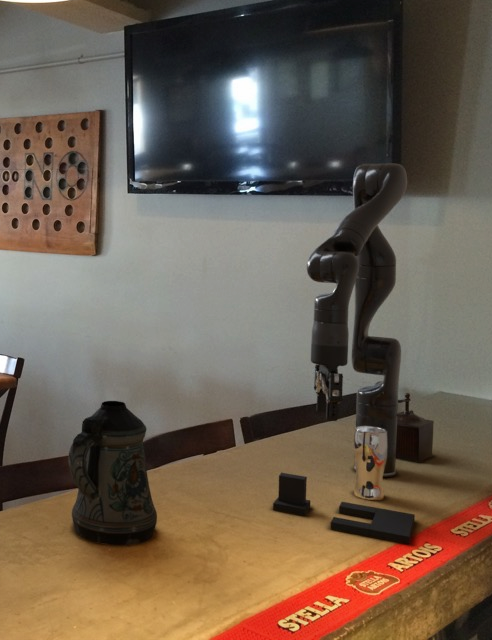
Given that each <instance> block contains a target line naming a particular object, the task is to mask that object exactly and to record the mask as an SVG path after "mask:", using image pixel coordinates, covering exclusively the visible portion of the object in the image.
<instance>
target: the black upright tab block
mask: <svg viewBox="0 0 492 640" xmlns="http://www.w3.org/2000/svg"><path fill="white" fill-rule="evenodd" d="M307 479H308V477H307V476H305V475H299V474H293V473H286V472H281V473H280V474H279V475H278V496H277V498H276V499H275V500H274V501H273V502H272V503H273V504H272V510H273V511H277V512H282V513H288V514H293V515H297V516H303V517H305V516H306V514H307V513H308V511H310V508H311V500H310V499H307Z"/></svg>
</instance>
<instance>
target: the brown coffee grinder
mask: <svg viewBox="0 0 492 640" xmlns="http://www.w3.org/2000/svg"><path fill="white" fill-rule="evenodd" d="M382 381H383V380H381V381H380V380H379V381H377V382H376V383H374V385H376V384H378V383H380V382H382ZM410 397H411V394H410V393H409V392H406V393H404V398H403V399H398V404H403V403H405V405H404V411H401V412H397V440H396V459H399V460H403V461H409V462H413V463H422V462H423V461H426V460H427V459H429V458H432V457H433V445H434V425H435V424H434V420H430V419H425V418H424V417H422V416H419V415H418V414H416V413H414V410H413V409H411V410H410V402H411V401H412V400H411V398H410Z"/></svg>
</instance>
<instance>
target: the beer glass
mask: <svg viewBox="0 0 492 640" xmlns="http://www.w3.org/2000/svg"><path fill="white" fill-rule="evenodd" d="M352 451H353V452H354V453H353V460H354V461H355V467H356V471H355V473H356V475H355V476H356V480H355V486H354V490H353V494H354V496H355V497H357V498H360V499H362V500H367V501H381V500H383V499H384V498H385V495H384V489H383V478H384V477H383V473H384V469H385V465H386V460H387V451H388V442H387V430H385V429H383V428H379V427H374V426H357V427H356V426H355V427H354V435H353V450H352Z"/></svg>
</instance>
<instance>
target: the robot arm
mask: <svg viewBox="0 0 492 640" xmlns="http://www.w3.org/2000/svg"><path fill="white" fill-rule="evenodd" d="M407 188H408V175H407V172H406V169H405V167H404V166H403V165H402V164H401V163H392V162H386V163H385V162H384V163H383V162H382V163H379V162H378V163H362V164H359V165H358V166H356V169H355V171H354V174H353V179H352V196H353V197H352V198H353V210H351V211H350V212H349V213H347V214H346V215H345V216H343V218H342V219H341V220H340V221H339V223H338V224H337V227H336V228H335V229H334V231H333V233H332V235H331V236H330V237H328V238H327V239H326V240H325V241H323V242H322V243H320V245H319V246H317V247H316V248H315V249H313V251H312V252H311V254H310V255H309V257H308V259H307V261H306V273H307V275H308V277H309V278H310V279H311V280H312V281H313V282H317V283H324V284H336V285H335V287H334V289H333V290H332V291H331V292H328V293H321V294H318V295H316V296H315V297H314V302H313V318H312V319H313V324H312V328H311V339H310V340H311V343H310V362H311V363H312V364H315V365H314V382H313V390H314V391H315V395H316V412H317V413H319V414H321V413H322V414H325V419H326V420H327V421H328V422H329V421H330V422H337V421H338V418H339V404H340V403H342V402H343V387H344V386H343V385H344V384H343V383H344V381H343V380H344V375H343V373H339V369H338V368H339V367H345V366H347V365H348V361H349V336H350V333H349V305H350V300H351V297H352V293H353V291H354V316H353V328H352V339H351V351H350V352H351V353H350V354H351V355H350V357H351V366H352V369H353V370H354V372H356V373H360V374H366V375H376V376H383V379H382V380H381V381H382V382H380V383H378V384H376V385H375V384H373V385H367V386H362V387H360V388H358V389H357V391H356V406H355V407H356V409H355V427H357V426H374V427H379V428H383V429H385V430H387V442H388V451H387V460H386V465H385V469H384V473H383V478H390V477H394V476H396V475H397V470H396V466H397V465H396V464H397V463H396V462H397V460H396V459H397V458H396V440H397V414H398V410H399V409H398V407H399V403H398V400H399V385H400V374H401V373H400V372H401V365H402V364H401V363H402V362H401V361H402V346H401V342H400V341H399V340H398V339H397V338H394V337H385V336H384V337H383V336H375V335H374V336H373V335H369V330H370V325H371V323H372V321H373V318H374V317H375V315H376V314H377V312H378V311H379V309H380V307H381V306H382V305H383V304H384V302H385V301H386V300H387V299H388V297H389V296H390V294H392V292H393V290H394V288H395V287H396V282H397V257H396V254H395V251H394V249H393V247H392V246H391V244H390V243H389V241H388V239H387V238H386V237H385V234H384V233H383V232H382V230H381V229H380V227H379V224H380V223H381V222H382V221H383V220H384V219H385V218H386V217H387V216H388V215H389V213H390V212H391V211H392V210H393V209H394V208H395V207H396V206H397V205H398V203H400V201H401V200H402V199H403V197H404V195H405V193H406V190H407ZM353 454H354V452H353ZM353 470H354V471H355V472H356V467H355V461H354V463H353Z"/></svg>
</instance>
